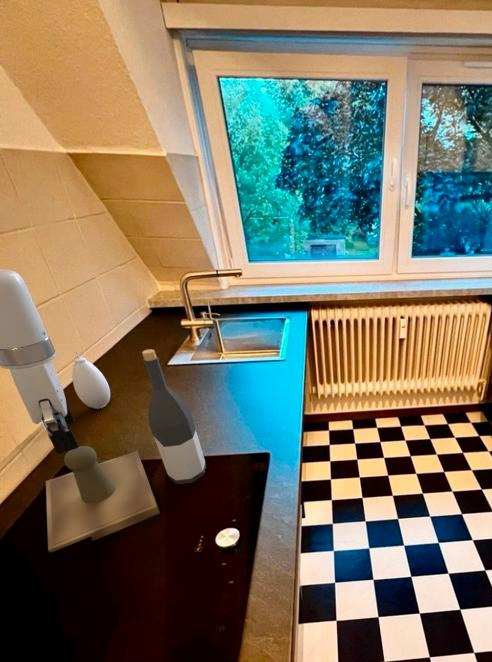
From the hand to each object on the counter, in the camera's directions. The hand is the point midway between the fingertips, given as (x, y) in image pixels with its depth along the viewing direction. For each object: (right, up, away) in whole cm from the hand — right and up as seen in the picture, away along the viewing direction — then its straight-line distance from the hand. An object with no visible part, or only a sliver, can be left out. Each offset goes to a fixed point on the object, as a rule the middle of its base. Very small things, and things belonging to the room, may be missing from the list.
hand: (66, 436), depth 72 cm
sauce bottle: (-21, +6, +41) cm, 46 cm away
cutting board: (+1, -14, +9) cm, 17 cm away
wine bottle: (+16, -9, +16) cm, 24 cm away
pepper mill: (+1, -12, +8) cm, 15 cm away
